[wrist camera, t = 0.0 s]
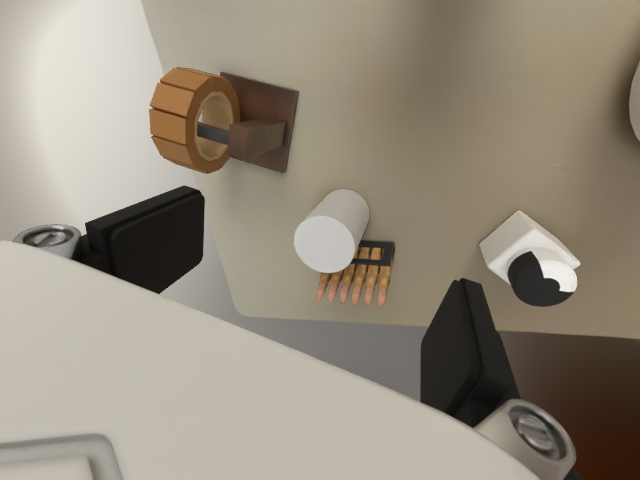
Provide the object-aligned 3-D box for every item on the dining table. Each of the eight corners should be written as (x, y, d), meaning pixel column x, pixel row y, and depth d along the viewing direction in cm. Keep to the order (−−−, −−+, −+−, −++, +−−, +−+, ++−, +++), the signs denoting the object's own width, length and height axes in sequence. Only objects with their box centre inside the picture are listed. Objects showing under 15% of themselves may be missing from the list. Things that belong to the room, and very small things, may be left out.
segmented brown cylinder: (212, 70, 43) (146, 63, 33) (243, 78, 42) (185, 73, 32) (209, 155, 49) (152, 171, 38) (236, 163, 48) (185, 182, 38)
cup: (312, 200, 50) (283, 228, 40) (356, 180, 47) (336, 206, 36) (334, 242, 52) (312, 279, 42) (377, 226, 49) (365, 262, 39)
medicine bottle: (515, 272, 46) (543, 325, 35) (477, 244, 45) (493, 288, 35) (559, 239, 42) (604, 287, 32) (518, 208, 42) (550, 246, 31)
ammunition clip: (331, 248, 53) (312, 304, 44) (329, 240, 52) (310, 295, 43) (394, 251, 50) (387, 312, 41) (394, 242, 49) (387, 303, 40)
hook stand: (219, 70, 46) (153, 63, 35) (298, 91, 44) (256, 89, 33) (215, 150, 52) (158, 165, 40) (286, 171, 50) (246, 194, 38)
